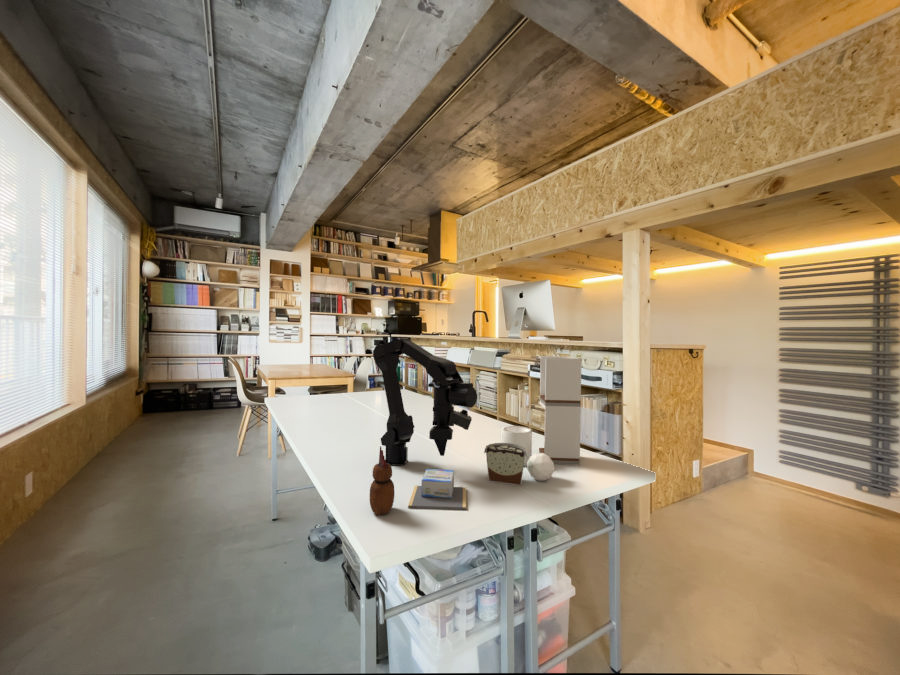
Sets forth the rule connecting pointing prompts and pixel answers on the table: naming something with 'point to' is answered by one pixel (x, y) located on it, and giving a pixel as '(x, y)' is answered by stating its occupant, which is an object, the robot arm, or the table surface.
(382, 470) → the wooden figurine
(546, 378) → the stacked beige boxes
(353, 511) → the table surface
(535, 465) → the geometric ball
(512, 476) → the multicoloured piece
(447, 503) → the mat
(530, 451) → the mug
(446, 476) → the medicine box
